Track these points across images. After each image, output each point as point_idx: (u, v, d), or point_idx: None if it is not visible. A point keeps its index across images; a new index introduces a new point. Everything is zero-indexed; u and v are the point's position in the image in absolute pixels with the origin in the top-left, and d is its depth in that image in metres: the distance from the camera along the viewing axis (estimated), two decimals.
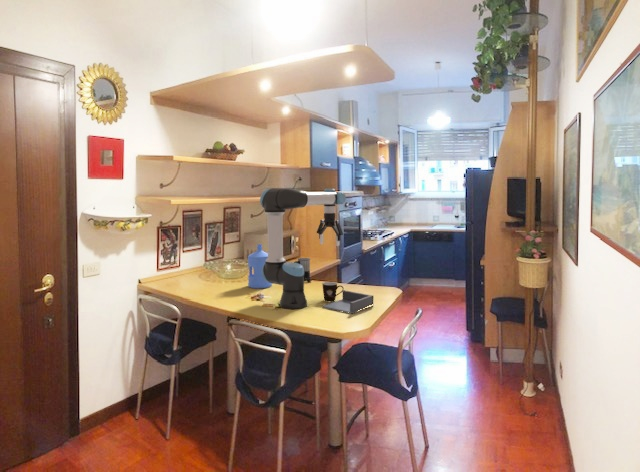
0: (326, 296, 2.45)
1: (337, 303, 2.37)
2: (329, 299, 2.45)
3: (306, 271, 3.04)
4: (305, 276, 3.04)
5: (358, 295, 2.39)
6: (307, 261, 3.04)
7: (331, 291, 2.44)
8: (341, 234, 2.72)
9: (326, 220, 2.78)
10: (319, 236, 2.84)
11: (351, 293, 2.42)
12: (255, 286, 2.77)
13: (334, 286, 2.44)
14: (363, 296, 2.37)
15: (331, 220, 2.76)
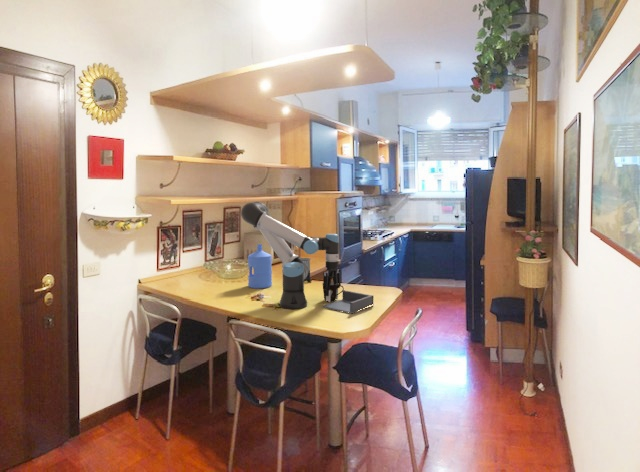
0: None
1: (337, 303, 2.37)
2: None
3: None
4: None
5: (358, 295, 2.39)
6: (307, 261, 3.03)
7: (331, 291, 2.44)
8: None
9: None
10: None
11: (351, 293, 2.42)
12: (255, 286, 2.77)
13: (334, 286, 2.44)
14: (363, 296, 2.37)
15: None
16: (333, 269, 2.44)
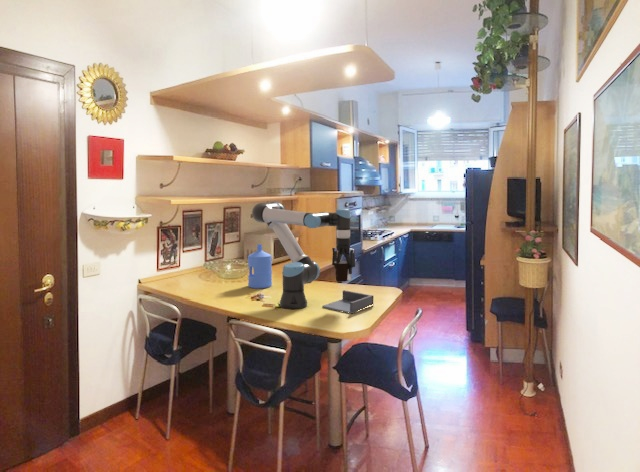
0: None
1: (337, 303, 2.37)
2: None
3: None
4: None
5: (358, 295, 2.39)
6: None
7: None
8: (353, 266, 2.29)
9: (339, 245, 2.33)
10: None
11: (351, 293, 2.42)
12: (255, 286, 2.77)
13: None
14: (363, 296, 2.37)
15: (346, 246, 2.30)
16: None
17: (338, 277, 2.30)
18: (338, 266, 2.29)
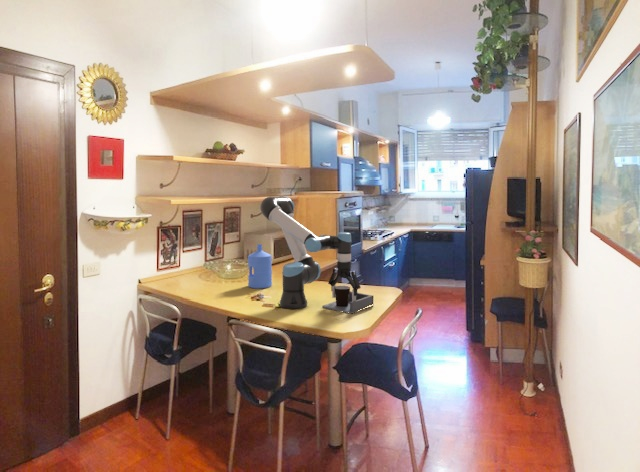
0: (347, 300, 2.31)
1: None
2: None
3: None
4: None
5: (358, 295, 2.39)
6: None
7: None
8: (358, 288, 2.26)
9: (340, 270, 2.33)
10: (331, 288, 2.38)
11: (351, 293, 2.42)
12: (255, 286, 2.77)
13: None
14: (363, 296, 2.37)
15: (346, 270, 2.30)
16: None
17: (338, 302, 2.31)
18: (338, 291, 2.29)
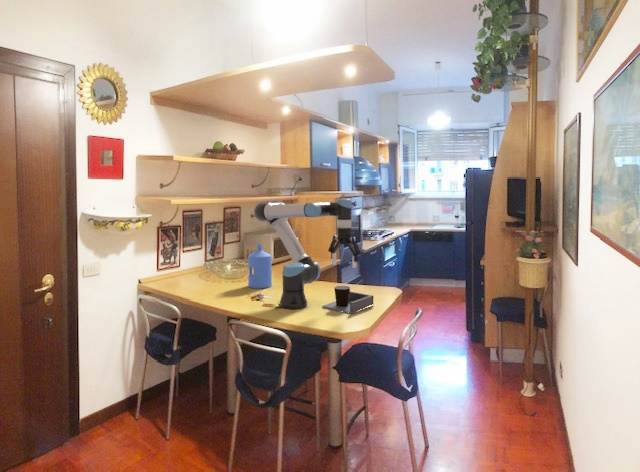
0: (347, 300, 2.31)
1: None
2: None
3: None
4: None
5: (358, 295, 2.39)
6: None
7: None
8: (359, 254, 2.24)
9: (340, 236, 2.31)
10: (331, 255, 2.36)
11: (351, 293, 2.42)
12: (255, 286, 2.77)
13: None
14: (363, 296, 2.37)
15: (346, 236, 2.28)
16: None
17: (338, 302, 2.31)
18: (338, 292, 2.29)
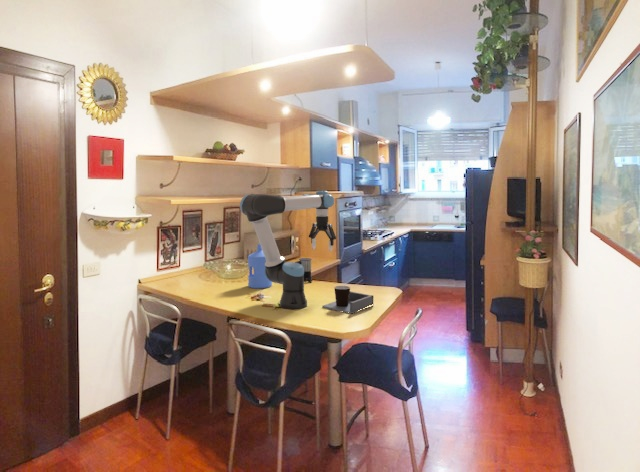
0: (347, 300, 2.31)
1: None
2: None
3: (307, 271, 3.03)
4: (306, 276, 3.03)
5: (358, 295, 2.39)
6: (308, 261, 3.03)
7: None
8: (334, 238, 2.58)
9: (318, 224, 2.64)
10: (311, 240, 2.70)
11: (351, 293, 2.42)
12: (255, 286, 2.77)
13: None
14: (363, 296, 2.37)
15: (324, 224, 2.62)
16: None
17: (338, 302, 2.31)
18: (338, 291, 2.29)
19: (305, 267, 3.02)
